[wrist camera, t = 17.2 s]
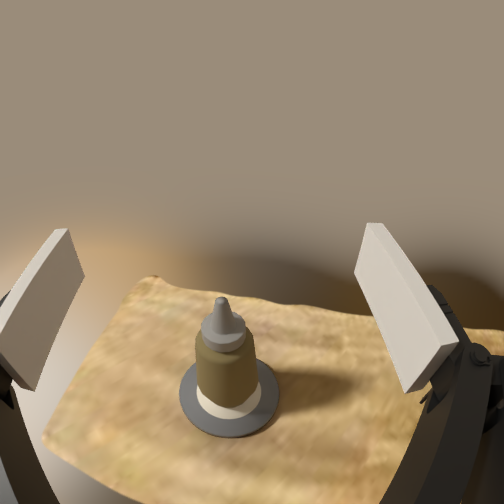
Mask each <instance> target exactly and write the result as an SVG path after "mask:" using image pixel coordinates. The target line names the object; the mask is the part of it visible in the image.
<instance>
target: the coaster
mask: <svg viewBox="0 0 504 504" xmlns="http://www.w3.org/2000/svg"><path fill="white" fill-rule="evenodd" d="M256 363H257V371H258V379H259V382H258V385H257V388H256V391H255V392H254V393H253V394H252V395H251V396H250V397H249V398H248V399H247V400H246V401H245V402H244V403H243V404H242V405H239V406H237V407H235V408H224V407H221V406H218V405H216V404H215V403H213V402H212V401H210V400H209V399H208V398H207V397H205V396H204V395H203V394H202V393H201V391H200V389H199V387H198V385H197V372H196V363H194V364H193V365H192V366H191V367H190V368H189V369H188V370H187V372H186V373H185V375H184V377H183V379H182V381H181V384H180V389H179V397H180V403H181V406H182V409H183V411H184V413H185V415H186V416H187V418H188V419H189V420H190V422H191V423H192V424H193V425H195V426H196V427H197V428H198V429H200V430H201V431H203V432H205V433H207V434H210V435H213V436H216V437H222V438H238V437H243V436H246V435H249V434H252V433H254V432H256V431H258V430H259V429H261V428H262V427H263V426H264V425H266V424H267V423H268V421H269V420H270V419H271V418H272V416H273V415H274V413H275V410H276V408H277V404H278V400H279V387H278V383H277V380H276V378H275V376H274V374H273V373H272V371H271V370H270V369H269V368H268V367H267V366H266V365H265V364H264V363H263V362H261V361H260V360H258V359H257V358H256Z"/></svg>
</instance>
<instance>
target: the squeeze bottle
mask: <svg viewBox="0 0 504 504" xmlns="http://www.w3.org/2000/svg"><path fill="white" fill-rule="evenodd" d="M195 350H196V372H197V385H198V387H199V389H200V391H201V393H202V394H203V395H204V396H205V397H207V398H208V399H209V400H210V401H212V402H213V403H215V404H216V405H218V406H221V407H224V408H235V407H237V406H239V405H242V404H243V403H244V402H245V401H246V400H247V399H248V398H249V397H250V396H251V395H252V394H253V393H254V392H255V391H256V388H257V385H258V382H259V379H258V371H257V363H256V355H255V347H254V339H253V335H252V333H251V332H250V330H249V329H248V328H247V327H246V326H245V321H244V320H243V318H242V317H241V316H240V315H238V314H237V313H235V312H232V311H231V308H230V305H229V303H228V300H227V298H225V297H218V298H217V299H216V300H215V305H214V309H213V313H211V314H209V315H208V316H207V317H205V318H204V320H203V322H202V324H201V330H200V331H199V333H198V335H197V336H196V343H195Z"/></svg>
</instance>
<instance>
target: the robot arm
mask: <svg viewBox="0 0 504 504" xmlns="http://www.w3.org/2000/svg"><path fill="white" fill-rule="evenodd" d="M354 274H355V276H356V278H357V280H358V282H359V284H360V286H361V289H362V291H363V293H364V295H365V297H366V300H367V302H368V304H369V306H370V308H371V311H372V313H373V315H374V318H375V320H376V322H377V325H378V327H379V329H380V332H381V334H382V337H383V339H384V341H385V344H386V346H387V349H388V351H389V354H390V356H391V359H392V361H393V364H394V366H395V369H396V372H397V374H398V377H399V380H400V382H401V385H402V388H403V390H404V393H405V394H406V393H410V392H414V391H418V390H421V389H423V388H424V386H425V385H426V384H427V383H428V382H429V380H430V382H431V385H432V388H431V389H430V391H429V392H428V393H427V394H426V395H425V396H424V397H423V398H422V400H421V401H420V404H422V403H423V402H424V401H425V400H426V399H427V400H426V402H425V405H424V408H423V411H422V414H421V416H420V419H419V422H418V424H417V427H416V429H415V432H414V434H413V437H412V439H411V441H410V444H409V446H408V448H407V451H406V453H405V455H404V457H403V459H402V461H401V463H400V466H399V468H398V470H397V472H396V474H395V476H394V478H393V480H392V481H391V483H390V485H389V487H388V489H387V491H386V493H385V494H384V496H383V498H382V500H381V501H380V503H379V504H460V503H461V504H504V356H499V355H491V354H490V352H489V351H488V350H487V349H486V348H485V347H484V346H482V345H481V344H478V343H471V341H470V339H469V338H468V336H467V334H466V332H465V331H464V329H463V327H462V326H461V324H460V322H459V321H458V319H457V317H456V316H455V314H454V313H453V311H452V309H451V308H450V306H448V303H447V301H446V300H445V298H444V297H443V295H442V293H440V292H439V291H438V290H437V289H436V288H435V287H434V286H432V285H425V283H424V282H423V280H422V279H421V277H420V276H419V274H418V272H417V271H416V269H415V268H414V267H413V265H412V264H411V262H410V261H409V259H408V258H407V256H406V255H405V253H404V252H403V251H402V249H401V248H400V246H399V245H398V244H397V242H396V241H395V240H394V238H393V237H392V236H391V234H390V233H389V231H388V230H387V229H386V228H385V226H384V225H383V224H382V223H367V226H366V230H365V234H364V238H363V242H362V246H361V249H360V253H359V257H358V261H357V264H356V268H355V271H354ZM84 277H85V275H84V273H83V271H82V268H81V265H80V262H79V259H78V256H77V254H76V251H75V248H74V245H73V242H72V239H71V236H70V233H69V229H55V230H54V232H53V233H52V234H51V236H50V237H49V238H48V239H47V240H46V242H45V243H44V244H43V246H42V247H41V248H40V250H39V251H38V252H37V254H36V255H35V256H34V258H33V259H32V261H31V262H30V263H29V265H28V266H27V267H26V269H25V270H24V272H23V273H22V275H21V276H20V278H19V279H18V281H17V282H16V283H15V285H14V287H13V288H12V290H10V291H9V292H8V294H6V295H5V296H4V297H3V298H2V300H1V301H0V504H60V503H59V501H58V500H57V498H56V496H55V494H54V492H53V490H52V488H51V486H50V484H49V482H48V480H47V478H46V476H45V474H44V471H43V469H42V467H41V465H40V463H39V460H38V458H37V455H36V453H35V450H34V448H33V446H32V443H31V440H30V437H29V435H28V432H27V429H26V427H25V423H24V420H23V417H22V414H21V411H20V408H19V404H18V401H17V397H16V394H15V391H14V389H13V387H12V386H11V383H12V380H14V381H15V382H16V383H17V384H18V385H19V386H20V387H21V388H23V389H27V390H31V391H35V389H36V386H37V384H38V381H39V378H40V375H41V373H42V370H43V367H44V365H45V362H46V359H47V357H48V355H49V352H50V350H51V347H52V345H53V342H54V340H55V337H56V335H57V333H58V331H59V328H60V326H61V324H62V322H63V320H64V317H65V315H66V313H67V311H68V309H69V307H70V305H71V303H72V301H73V299H74V296H75V294H76V292H77V290H78V288H79V287H80V285H81V283H82V281H83V279H84ZM461 500H462V502H461Z"/></svg>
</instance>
